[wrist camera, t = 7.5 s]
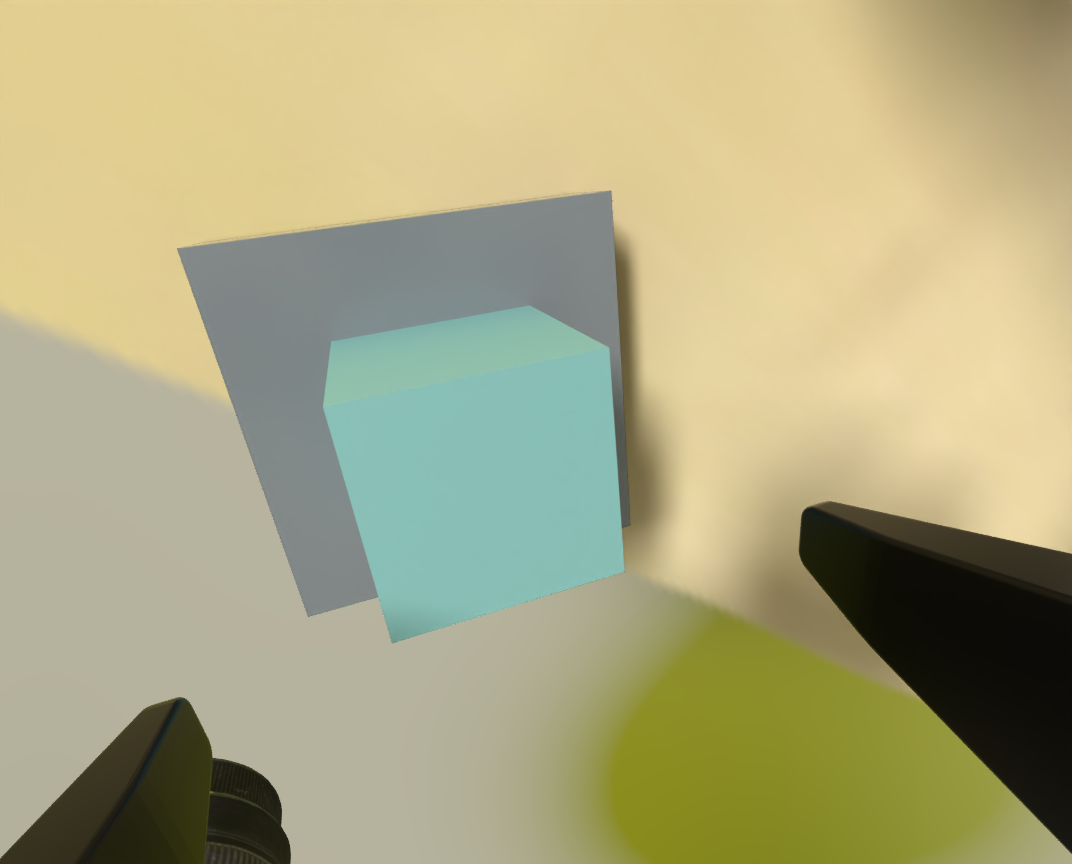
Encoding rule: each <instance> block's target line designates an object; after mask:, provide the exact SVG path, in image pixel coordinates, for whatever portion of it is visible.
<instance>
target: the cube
mask: <svg viewBox="0 0 1072 864" xmlns="http://www.w3.org/2000/svg"><path fill="white" fill-rule="evenodd" d="M323 409H324V412H325V416H326V419H327V423H328V426H329V429H330V433H331V436H332V440H333V443H334V447H335V450H336V453H337V457H338V460H339V464H340V467H341V470H342V474H343V477H344V481H345V484H346V488H347V491H348V494H349V498H350V501H351V505H352V508H353V512H354V515H355V518H356V522H357V525H358V529H359V532H360V536H361V539H362V542H363V546H364V549H365V553H366V556H367V560H368V563H369V566H370V570H371V573H372V577H373V580H374V584H375V587H376V590H377V594H378V597H379V601H380V603H381V607H382V611H383V614H384V617H385V621H386V624H387V628H388V631H389V635H390V638H391V642H392V643H395V642H397V641H401V640H404V639H407V638H411V637H414V636H417V635H420V634H424V633H427V632H430V631H433V630H437V629H440V628H443V627H447V626H450V625H453V624H456V623H459V622H463V621H466V620H469V619H472V618H476V617H479V616H482V615H486V614H489V613H492V612H495V611H498V610H502V609H505V608H508V607H511V606H515V605H518V604H521V603H525V602H528V601H531V600H534V599H538V598H541V597H544V596H547V595H551V594H553V593H557V592H560V591H563V590H567V589H570V588H573V587H576V586H580V585H583V584H586V583H590V582H593V581H596V580H599V579H603V578H606V577H609V576H612V575H615V574H619V573H622V572H625V570H624V555H623V541H622V526H621V512H620V497H619V483H618V468H617V454H616V439H615V425H614V410H613V396H612V381H611V367H610V352H609V347H607V346H605V345H603V344H601V343H600V342H598V341H596V340H594V339H592V338H590V337H588V336H586V335H585V334H583V333H581V332H579V331H577V330H575V329H573V328H571V327H569V326H568V325H566V324H564V323H562V322H560V321H558V320H556V319H554V318H553V317H551V316H549V315H547V314H545V313H543V312H541V311H539V310H538V309H536V308H534V307H532V306H530V305H529V306H524V307H518V308H513V309H507V310H502V311H496V312H491V313H485V314H480V315H474V316H469V317H463V318H458V319H452V320H447V321H441V322H436V323H430V324H425V325H419V326H414V327H408V328H403V329H397V330H392V331H386V332H381V333H375V334H370V335H364V336H359V337H353V338H348V339H342V340H337V341H331V347H330V355H329V363H328V371H327V379H326V387H325V395H324V402H323Z"/></svg>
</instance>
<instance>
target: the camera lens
mask: <svg viewBox="0 0 1072 864" xmlns="http://www.w3.org/2000/svg"><path fill="white" fill-rule="evenodd" d="M281 817H282V808H281V803H280V800H279V796H278V794H277V792H276V790H275V789H274V787H273V786H272V785H271V783H270V782H269V781H268V780H267V779H266V778H265V777H264V776H262V775H261V774H259V773H258V772H256V771H255V770H253V769H252V768H250V767H247V766H245V765H242V764H239V763H236V762H232V761H228V760H224V759H216V758H212V773H211V786H210V798H209V811H208V823H207V836H206V849H205V861H204V864H290V860H291V852H290V844H289V840H288V838H287V836H286V834H285V832H284V831H283V829H282V827H281V820H282V818H281Z"/></svg>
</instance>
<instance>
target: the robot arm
mask: <svg viewBox="0 0 1072 864" xmlns="http://www.w3.org/2000/svg"><path fill="white" fill-rule="evenodd" d="M799 555H800V558H801V561H802V563H803V565H804V566H805V568H806V569H807V570H808V571H809V572H810V574H811V575H812V576H813V577H814V579H815V580H816V581H817V582H818V583H819V585H820V586H821V587H822V588H823V590H824V591H825V592H826V593H827V595H828V596H829V597H830V598H831V599H832V601H833V602H834V603H835V604H836V606H837V607H838V608H839V609H840V611H841V612H842V613H843V614H844V615H845V617H846V618H847V619H848V620H849V622H850V623H851V624H852V625H853V627H854V628H855V629H856V630H857V631H858V633H859V634H860V635H861V636H862V637H863V638H864V640H865V641H866V642H867V643H868V644H869V645H870V646H871V647H872V649H873V650H874V651H875V652H876V653H877V654H878V655H879V656H880V657H881V658H882V659H883V660H884V661H885V662H886V663H887V664H888V665H889V666H890V667H891V668H892V669H893V671H894V672H895V673H896V674H897V675H898V676H899V677H900V678H901V679H902V680H903V681H904V682H905V683H906V684H907V685H908V686H909V687H910V688H911V689H912V690H913V691H914V692H915V693H916V694H917V695H918V696H919V697H920V698H921V699H922V700H923V701H924V702H925V703H926V704H927V705H928V707H929V708H930V709H932V711H933V712H934V713H935V714H936V715H937V716H938V717H939V718H940V719H941V720H942V721H943V722H944V723H945V724H946V725H947V726H948V727H949V728H950V729H951V730H952V731H953V732H954V733H955V734H956V735H957V736H958V737H959V738H960V739H961V740H962V742H963V743H964V744H965V745H966V746H967V747H968V748H969V749H970V750H971V751H972V752H973V753H974V754H975V755H976V756H977V757H978V758H979V759H980V760H981V761H982V762H983V763H984V764H985V765H986V766H987V767H988V768H989V769H990V770H991V771H992V772H993V773H994V774H995V775H996V776H997V777H998V779H999V780H1001V782H1002V783H1003V784H1004V785H1005V786H1006V787H1007V788H1008V789H1009V790H1010V791H1011V792H1012V793H1013V794H1014V795H1015V796H1016V797H1017V798H1018V799H1019V800H1020V801H1021V802H1022V803H1023V804H1024V805H1025V806H1026V807H1027V808H1028V809H1029V810H1030V811H1031V812H1032V814H1034V816H1035V817H1036V818H1037V819H1038V820H1039V821H1040V822H1041V823H1042V824H1043V825H1044V826H1045V827H1046V828H1047V829H1048V830H1049V831H1050V832H1051V833H1052V834H1053V835H1054V836H1055V837H1056V838H1057V839H1058V840H1059V841H1060V842H1061V843H1062V844H1063V845H1064V846H1065V847H1066V849H1068V850H1069V852H1070V853H1071V854H1072V554H1070V553H1066V552H1061V551H1056V550H1052V549H1047V548H1043V547H1038V546H1034V545H1029V544H1024V543H1020V542H1015V541H1011V540H1006V539H1001V538H997V537H992V536H988V535H983V534H978V533H974V532H969V531H965V530H960V529H956V528H951V527H946V526H942V525H937V524H933V523H928V522H923V521H919V520H914V519H910V518H905V517H900V516H896V515H891V514H887V513H882V512H878V511H873V510H868V509H864V508H859V507H855V506H850V505H845V504H841V503H836V502H831V501H827V502H822V503H819V504H816V505H812V506H809V507H807V508H806V509H804V511H803V513H802V516H801V527H800V539H799ZM211 773H212V750H211V745H210V742H209V739H208V737H207V736H206V733H205V732H204V729H203V727H202V725H201V723H200V721H199V719H198V717H197V715H196V714H195V711H194V709H193V707H192V705H191V704H190V702H189V701H188V700H187V699H185V698H181V697H179V698H174V699H171V700H168V701H164V702H161V703H158V704H155V705H151V706H149V707H147V708H145V709H144V710H143V711H142V712H141V713H140V714H139V715H138V716H137V717H136V718H135V719H134V720H133V721H132V722H131V723H130V724H129V725H128V726H127V727H126V728H125V729H124V730H123V731H122V732H121V733H120V734H119V735H118V737H116V739H115V740H114V741H113V742H112V743H111V744H110V745H109V746H108V747H107V748H106V749H105V750H104V751H103V752H102V753H101V754H100V755H99V756H98V757H97V758H96V759H95V760H94V761H93V763H92V764H91V765H90V766H89V767H88V768H87V769H86V770H85V771H84V772H83V773H82V774H81V775H80V776H79V777H78V778H77V779H76V780H75V781H74V782H73V783H72V784H71V785H70V786H69V788H68V789H67V790H66V791H65V792H64V793H63V794H62V795H61V796H60V797H59V798H58V799H57V800H56V801H55V802H54V803H53V804H52V805H51V806H50V807H49V808H48V809H47V810H46V811H45V812H44V814H42V816H41V817H40V818H39V819H38V820H37V821H36V822H35V823H34V824H33V825H32V826H31V827H30V828H29V829H28V830H27V831H26V832H25V833H24V835H22V836H21V837H20V838H19V839H18V840H17V842H16V843H15V844H14V845H13V846H12V847H11V848H10V849H9V850H8V851H7V852H6V853H5V854H4V855H3V856H2V857H1V858H0V864H204V861H205V849H206V836H207V823H208V811H209V798H210V786H211Z"/></svg>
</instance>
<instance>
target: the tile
mask: <svg viewBox="0 0 1072 864" xmlns="http://www.w3.org/2000/svg"><path fill="white" fill-rule="evenodd" d="M177 250H178V253H179V255H180V258H181V261H182V264H183V267H184V270H185V272H186V275H187V278H188V281H189V284H190V286H191V289H192V292H193V295H194V298H195V300H196V303H197V306H198V309H199V312H200V314H201V317H202V320H203V323H204V326H205V329H206V331H207V334H208V337H209V340H210V343H211V345H212V348H213V351H214V354H215V357H216V359H217V362H218V365H219V368H220V371H221V373H222V376H223V379H224V382H225V385H226V388H227V390H228V393H229V396H230V399H231V402H232V404H233V407H234V410H235V413H236V416H237V418H238V421H239V424H240V427H241V430H242V432H243V435H244V438H245V441H246V444H247V447H248V449H249V452H250V455H251V458H252V461H253V463H254V466H255V469H256V472H257V475H258V477H259V480H260V483H261V486H262V489H263V491H264V494H265V497H266V500H267V503H268V506H269V508H270V511H271V514H272V516H273V520H274V522H275V525H276V528H277V531H278V534H279V536H280V539H281V542H282V545H283V548H284V550H285V553H286V556H287V559H288V562H289V565H290V567H291V570H292V573H293V576H294V579H295V581H296V584H297V587H298V590H299V592H300V595H301V598H302V601H303V604H304V607H305V609H306V612H307V615H308V617H309V616H313V615H317V614H320V613H324V612H327V611H331V610H334V609H338V608H341V607H345V606H348V605H352V604H355V603H359V602H362V601H366V600H369V599H373V598H376V597H378V594H377V590H376V587H375V584H374V580H373V577H372V573H371V570H370V566H369V563H368V560H367V556H366V553H365V549H364V546H363V542H362V539H361V536H360V532H359V529H358V525H357V522H356V518H355V515H354V512H353V508H352V505H351V501H350V498H349V494H348V491H347V488H346V484H345V481H344V477H343V474H342V470H341V467H340V464H339V460H338V457H337V453H336V450H335V447H334V443H333V440H332V436H331V433H330V429H329V426H328V423H327V419H326V416H325V412H324V409H323V402H324V395H325V387H326V379H327V371H328V363H329V355H330V347H331V341H337V340H342V339H348V338H353V337H359V336H364V335H370V334H375V333H381V332H386V331H392V330H397V329H403V328H408V327H414V326H419V325H425V324H430V323H436V322H441V321H447V320H452V319H458V318H463V317H469V316H474V315H480V314H485V313H491V312H496V311H502V310H507V309H513V308H518V307H524V306H529V305H530V306H532V307H534V308H536V309H538V310H539V311H541V312H543V313H545V314H547V315H549V316H551V317H553V318H554V319H556V320H558V321H560V322H562V323H564V324H566V325H568V326H569V327H571V328H573V329H575V330H577V331H579V332H581V333H583V334H585V335H586V336H588V337H590V338H592V339H594V340H596V341H598V342H600V343H601V344H603V345H605V346H607V347H609V352H610V367H611V381H612V396H613V410H614V425H615V439H616V454H617V468H618V483H619V497H620V512H621V526H622V528H623V527H626V526H630V509H629V491H628V474H627V456H626V439H625V421H624V404H623V386H622V369H621V351H620V334H619V316H618V299H617V281H616V264H615V246H614V229H613V211H612V194H611V191H598V192H584V193H572V194H565V195H557V196H550V197H542V198H534V199H527V200H519V201H512V202H504V203H497V204H489V205H482V206H474V207H467V208H459V209H451V210H444V211H436V212H429V213H421V214H414V215H406V216H399V217H391V218H383V219H376V220H368V221H361V222H353V223H346V224H338V225H331V226H323V227H316V228H308V229H300V230H293V231H285V232H278V233H270V234H263V235H255V236H248V237H240V238H232V239H225V240H217V241H210V242H203V243H199V244H194V245H190V246H186V247H181V248H177Z"/></svg>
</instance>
